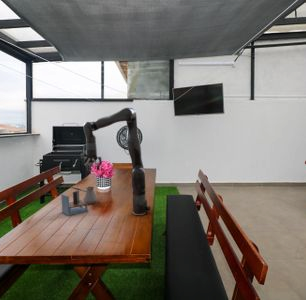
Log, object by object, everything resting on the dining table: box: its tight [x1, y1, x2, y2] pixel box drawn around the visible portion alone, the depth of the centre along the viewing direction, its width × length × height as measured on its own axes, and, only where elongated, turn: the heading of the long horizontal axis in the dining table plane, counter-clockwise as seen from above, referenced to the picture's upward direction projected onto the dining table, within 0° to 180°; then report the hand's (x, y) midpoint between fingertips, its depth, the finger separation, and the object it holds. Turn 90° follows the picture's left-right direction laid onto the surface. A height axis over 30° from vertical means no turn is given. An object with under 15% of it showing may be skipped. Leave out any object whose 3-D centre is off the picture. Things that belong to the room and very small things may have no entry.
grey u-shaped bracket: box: [61, 193, 89, 217], centre depth 190 cm, size 15×11×14 cm
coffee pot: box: [70, 186, 99, 205], centre depth 209 cm, size 21×12×15 cm, turn 113°
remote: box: [72, 190, 80, 204], centre depth 190 cm, size 4×3×9 cm
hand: (92, 170), depth 191 cm, fingers open, 8 cm apart
